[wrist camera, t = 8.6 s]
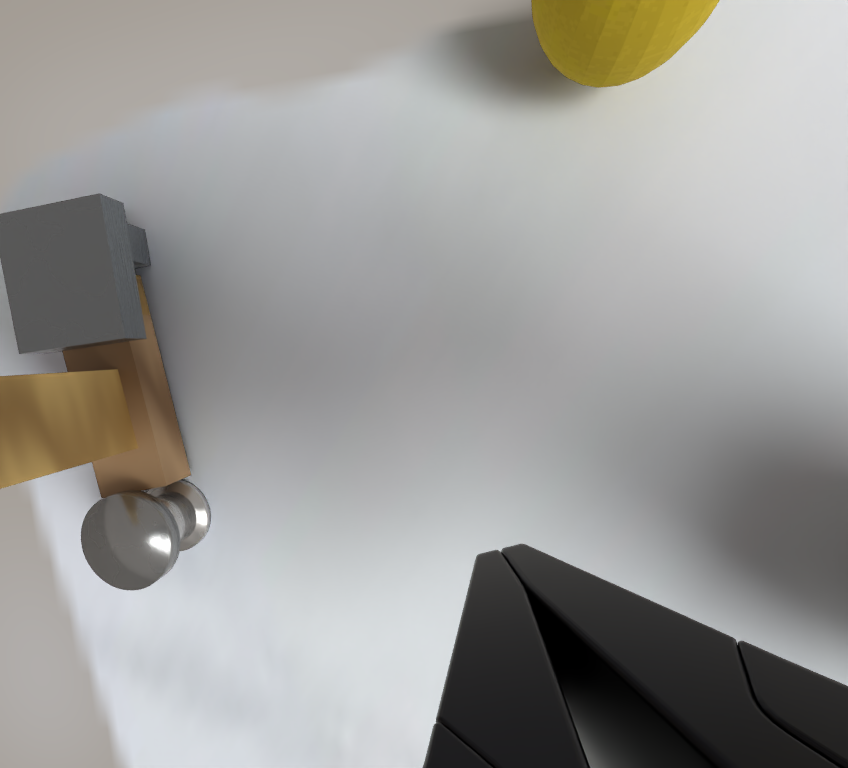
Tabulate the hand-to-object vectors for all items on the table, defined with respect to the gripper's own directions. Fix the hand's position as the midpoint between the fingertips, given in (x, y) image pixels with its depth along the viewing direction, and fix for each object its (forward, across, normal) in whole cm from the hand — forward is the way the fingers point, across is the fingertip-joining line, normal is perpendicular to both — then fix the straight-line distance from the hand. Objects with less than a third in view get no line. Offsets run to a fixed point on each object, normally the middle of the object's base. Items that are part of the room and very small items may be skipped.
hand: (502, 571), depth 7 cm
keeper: (+15, -12, +6) cm, 20 cm away
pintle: (+13, -13, -4) cm, 19 cm away
